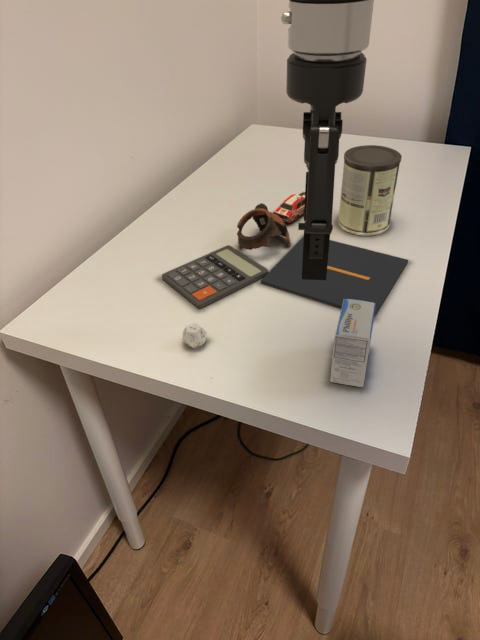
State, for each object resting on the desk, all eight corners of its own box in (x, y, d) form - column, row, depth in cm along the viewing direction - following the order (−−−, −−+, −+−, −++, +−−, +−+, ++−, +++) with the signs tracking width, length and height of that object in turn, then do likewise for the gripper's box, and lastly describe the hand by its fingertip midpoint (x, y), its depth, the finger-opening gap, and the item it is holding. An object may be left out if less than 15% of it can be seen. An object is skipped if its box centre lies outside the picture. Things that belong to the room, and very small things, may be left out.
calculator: (160, 273, 85) (228, 243, 92) (161, 278, 85) (228, 248, 92) (198, 304, 77) (269, 269, 84) (199, 308, 78) (269, 273, 85)
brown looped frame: (298, 256, 90) (281, 229, 84) (253, 276, 93) (233, 251, 87) (286, 212, 97) (269, 184, 91) (245, 232, 100) (226, 206, 94)
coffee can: (354, 207, 103) (362, 140, 94) (398, 221, 98) (411, 152, 89) (327, 225, 98) (333, 157, 89) (373, 241, 92) (384, 170, 83)
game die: (190, 333, 74) (188, 317, 72) (211, 339, 72) (210, 324, 71) (178, 347, 71) (176, 332, 69) (200, 354, 70) (198, 338, 68)
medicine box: (362, 389, 64) (371, 340, 58) (328, 382, 65) (334, 334, 59) (368, 349, 69) (377, 301, 64) (337, 344, 71) (343, 296, 65)
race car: (270, 225, 102) (268, 207, 98) (304, 197, 107) (304, 179, 104) (288, 233, 99) (287, 214, 96) (323, 204, 104) (322, 185, 101)
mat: (407, 262, 86) (408, 259, 86) (373, 318, 75) (374, 315, 74) (305, 236, 95) (305, 233, 94) (260, 283, 83) (260, 280, 83)
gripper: (291, 29, 56) (287, 200, 69) (279, 88, 37) (277, 307, 50) (358, 28, 55) (340, 201, 68) (381, 86, 36) (350, 310, 49)
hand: (313, 246), depth 59 cm, fingers open, 13 cm apart
